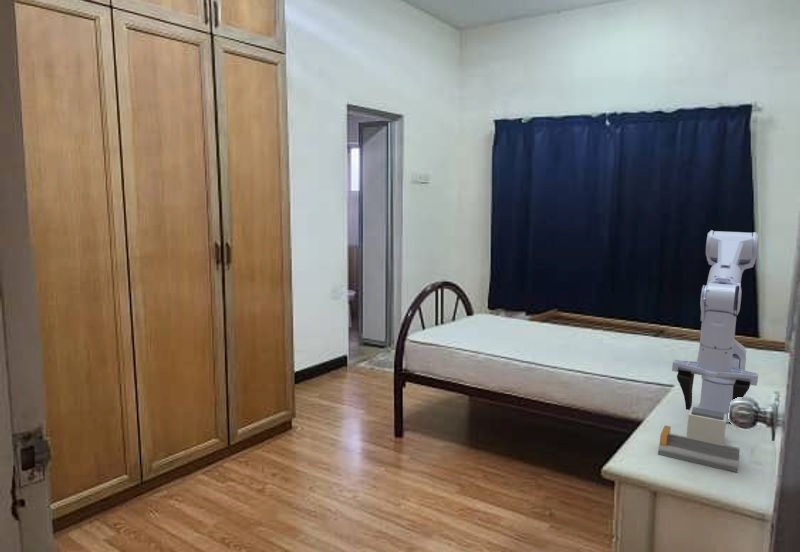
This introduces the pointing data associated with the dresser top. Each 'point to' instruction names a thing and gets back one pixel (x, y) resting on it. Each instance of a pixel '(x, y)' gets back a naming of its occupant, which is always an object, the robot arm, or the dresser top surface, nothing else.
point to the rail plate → (698, 451)
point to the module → (706, 425)
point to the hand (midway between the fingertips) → (710, 412)
